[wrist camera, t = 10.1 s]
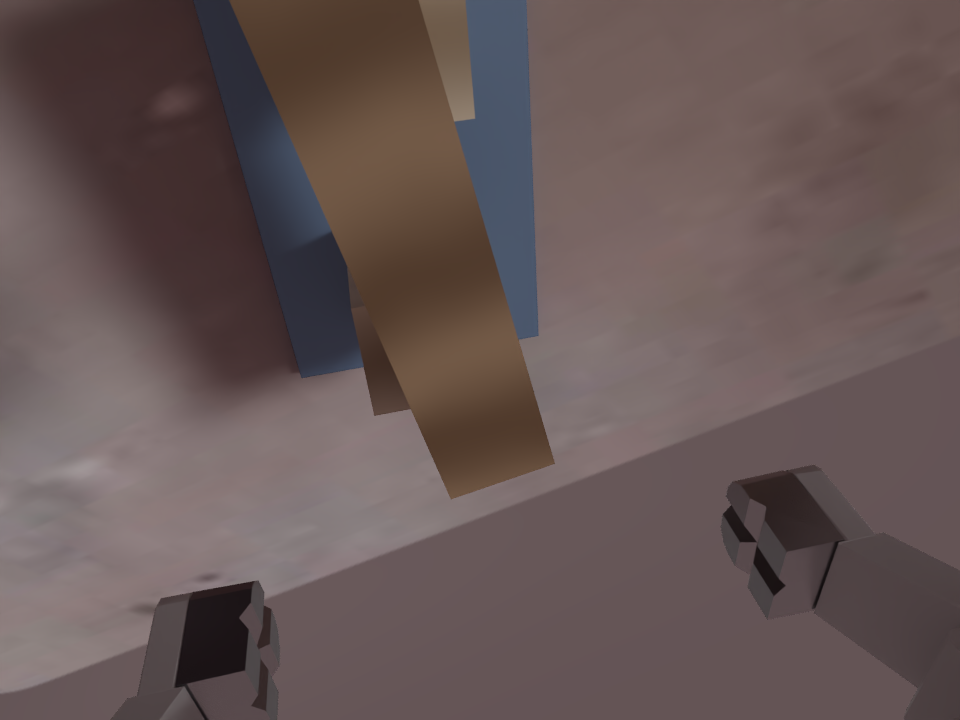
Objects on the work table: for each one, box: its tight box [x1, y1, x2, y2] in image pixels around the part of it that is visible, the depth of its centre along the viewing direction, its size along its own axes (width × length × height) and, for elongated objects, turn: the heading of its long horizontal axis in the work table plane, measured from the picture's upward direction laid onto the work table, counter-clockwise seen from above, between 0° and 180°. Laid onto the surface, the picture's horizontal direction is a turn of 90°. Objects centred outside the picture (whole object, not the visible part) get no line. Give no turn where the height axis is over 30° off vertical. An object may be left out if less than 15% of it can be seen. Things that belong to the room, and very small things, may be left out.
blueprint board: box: [193, 0, 538, 378], centre depth 29 cm, size 21×12×1 cm, turn 5°
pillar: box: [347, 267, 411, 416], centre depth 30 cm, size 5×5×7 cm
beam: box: [229, 0, 555, 499], centre depth 22 cm, size 18×4×4 cm, turn 15°
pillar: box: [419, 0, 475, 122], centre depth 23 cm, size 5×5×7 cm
